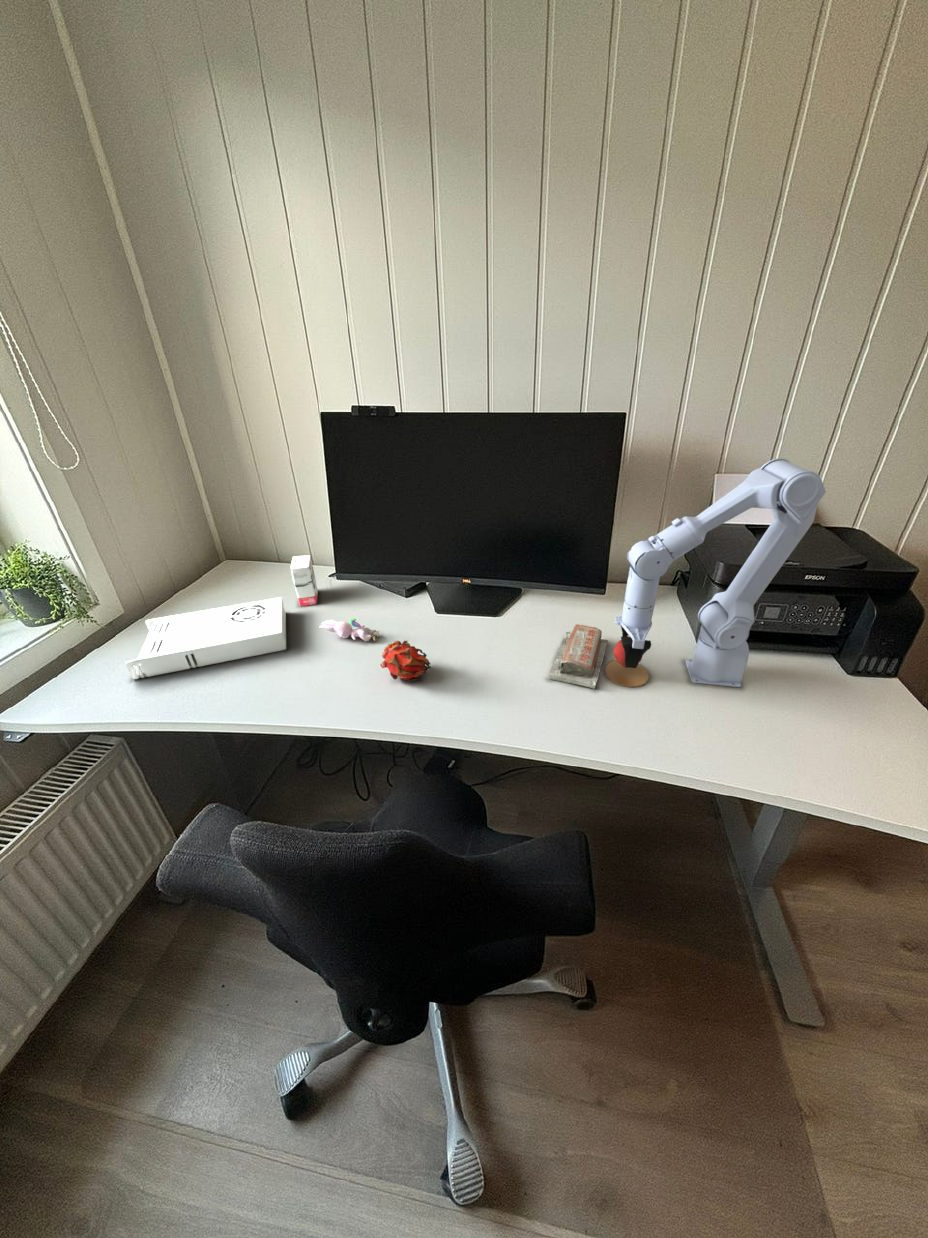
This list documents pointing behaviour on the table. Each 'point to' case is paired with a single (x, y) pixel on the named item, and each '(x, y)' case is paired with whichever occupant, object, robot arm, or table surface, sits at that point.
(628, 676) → the coaster
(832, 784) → the table surface
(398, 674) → the dragon fruit
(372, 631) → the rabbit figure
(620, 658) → the onion
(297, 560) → the ink box
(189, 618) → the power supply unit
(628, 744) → the table surface
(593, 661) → the packaged product
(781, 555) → the robot arm
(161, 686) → the table surface
